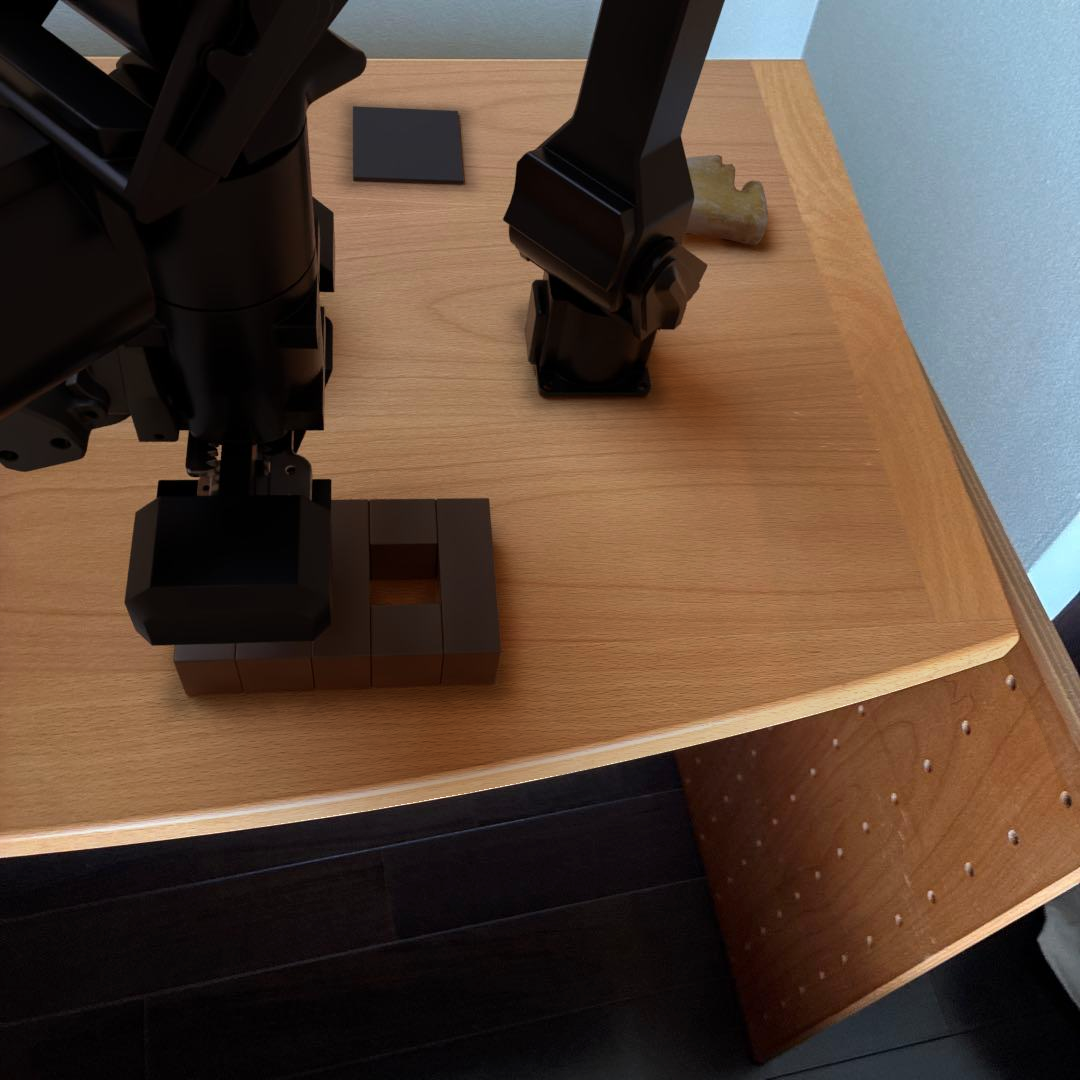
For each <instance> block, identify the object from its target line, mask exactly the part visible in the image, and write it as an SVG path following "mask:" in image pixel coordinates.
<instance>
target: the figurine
mask: <svg viewBox="0 0 1080 1080" xmlns="http://www.w3.org/2000/svg"><path fill="white" fill-rule="evenodd" d="M686 160H687V164H688V169H689V173H690V177H691V182H692V186H693V190H694V203H693V206H692V210H691V214H690V218H689V221H688V225H687V229H686V233H687V234H694V235H701V236H707V237H714V238H719V239H723V240H730V241H733V242H737V243H739V244H744V245H748V246H757V245H758V244H759V243H760V242H761V240H762V239H763V237H764V235H765V233H766V230H767V226H768V222H769V220H768V219H769V212H768V204H767V197H766V193H765V189H764V185H763V184H762V182H761V181H759V180H749V181H747V182H746V183H745V184H744V185H743V186H742V189H741V190H739V189H737V188H736V186H735V180H736V167H735V166H734V165H733V163H726V164H725V163H723V156H721V155H719V154H711V155H709V154H708V155H700V156H689V157H686ZM686 233H685V234H686Z"/></svg>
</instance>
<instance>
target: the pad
mask: <svg viewBox="0 0 1080 1080" xmlns="http://www.w3.org/2000/svg"><path fill="white" fill-rule="evenodd" d="M461 142H462V141H461V129H460V121H459V111H458V110H451V109H450V110H447V109H428V108H427V109H425V108H424V109H423V108H403V107H402V108H401V107H399V108H398V107H382V106H381V107H380V106H379V107H376V106H359V105H358V106H352V180H353V181H357V182H359V181H360V182H361V181H362V182H386V183H387V182H389V183H390V182H392V183H419V184H420V183H421V184H449V185H464V179H465V178H464V169H463V157H462V145H461Z"/></svg>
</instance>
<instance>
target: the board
mask: <svg viewBox="0 0 1080 1080" xmlns="http://www.w3.org/2000/svg"><path fill="white" fill-rule="evenodd" d="M491 515H492V514H491V503H490V498H489V497H465V498H464V497H453V498H452V497H451V498H450V497H449V498H448V497H447V498H446V497H443V498H371V499H368V498H365V499H364V498H360V499H359V498H357V499H356V498H354V499H351V498H350V499H348V498H347V499H344V498H343V499H331V523H332V556H333V568H332V626H331V627H330V628H329V629H328V630H326V631H325V632H324V633H323V634H322V635H321V636H320V637H319V638H317V639H316V640H315V641H305V642H269V643H233V644H197V645H174V649H173V660H172V661H173V664H174V667H175V669H176V672H177V675H178V677H179V680H180V683H181V686H182V689H183V691H184V694H185V695H186V696H188V695H189V696H193V695H194V696H195V695H221V694H223V695H224V694H225V695H226V694H243V693H244V694H260V693H263V694H265V693H289V692H314V691H339V690H342V691H343V690H368V689H397V688H398V689H399V688H426V687H427V688H429V687H463V686H491V685H496V681H497V676H498V671H499V666H500V661H501V656H502V641H501V627H500V614H499V603H498V602H499V601H498V589H497V579H496V565H495V554H494V553H495V552H494V541H493V540H494V539H493V529H492V516H491ZM434 580H435V597H436V598H435V600H436V602H435V603H409V604H407V603H405V604H401V603H399V604H371V603H372V602H371V601H372V600H371V599H372V598H371V595H372V594H371V593H372V592H371V586H372V585H371V582H391V581H392V582H393V581H394V582H395V581H398V582H399V581H434Z"/></svg>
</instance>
